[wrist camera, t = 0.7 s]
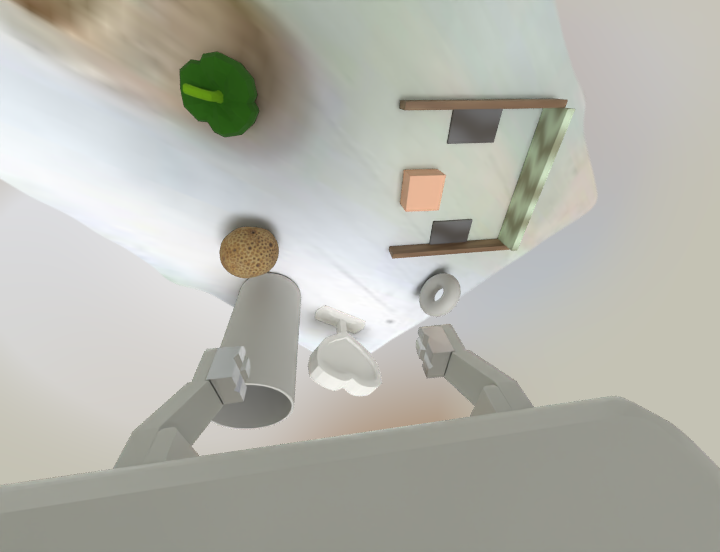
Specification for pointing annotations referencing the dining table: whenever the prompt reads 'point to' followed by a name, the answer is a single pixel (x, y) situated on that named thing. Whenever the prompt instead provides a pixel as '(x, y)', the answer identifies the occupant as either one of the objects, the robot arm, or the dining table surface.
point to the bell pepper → (219, 93)
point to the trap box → (480, 126)
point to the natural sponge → (249, 252)
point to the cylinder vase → (264, 351)
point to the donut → (448, 297)
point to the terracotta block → (422, 189)
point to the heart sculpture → (343, 357)
